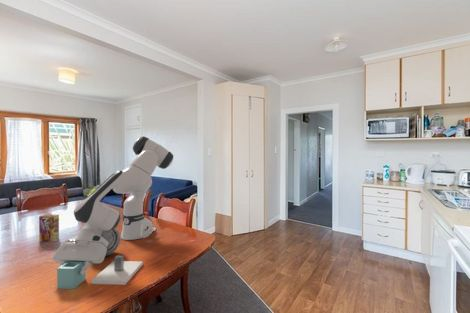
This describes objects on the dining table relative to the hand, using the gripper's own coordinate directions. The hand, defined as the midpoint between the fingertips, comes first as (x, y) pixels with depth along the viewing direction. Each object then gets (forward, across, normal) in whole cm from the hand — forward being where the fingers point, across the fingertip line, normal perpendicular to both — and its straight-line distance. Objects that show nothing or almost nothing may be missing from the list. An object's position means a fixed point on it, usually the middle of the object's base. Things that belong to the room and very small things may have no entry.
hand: (70, 273), depth 90 cm
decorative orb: (-15, -2, +21) cm, 26 cm away
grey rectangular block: (-4, +15, +8) cm, 18 cm away
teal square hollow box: (+3, 0, +4) cm, 4 cm away
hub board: (-3, +15, +9) cm, 18 cm away
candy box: (-26, -46, +33) cm, 63 cm away
